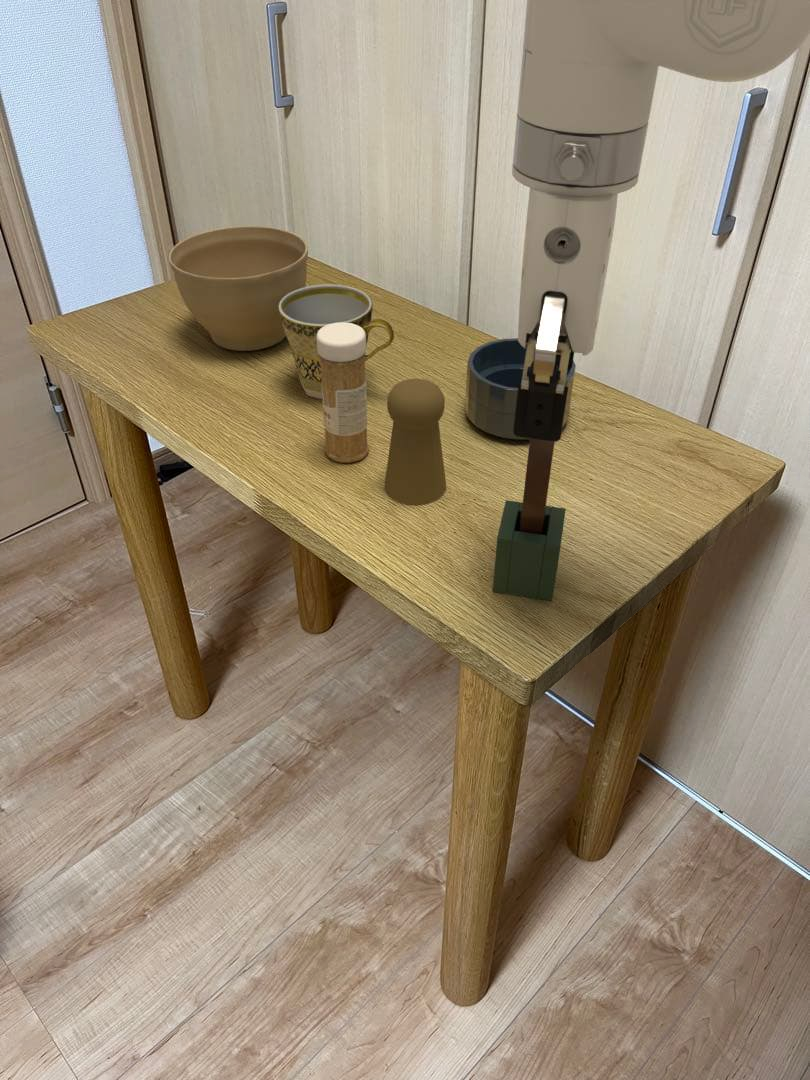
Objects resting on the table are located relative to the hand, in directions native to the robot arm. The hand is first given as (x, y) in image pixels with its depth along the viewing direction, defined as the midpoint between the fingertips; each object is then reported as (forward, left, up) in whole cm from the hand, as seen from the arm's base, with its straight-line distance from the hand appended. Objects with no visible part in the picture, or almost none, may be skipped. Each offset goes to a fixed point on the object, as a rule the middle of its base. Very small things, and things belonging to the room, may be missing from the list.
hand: (544, 399), depth 61 cm
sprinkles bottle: (+20, -14, -18) cm, 30 cm away
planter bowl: (+39, -36, -18) cm, 56 cm away
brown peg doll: (+12, -10, -18) cm, 24 cm away
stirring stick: (0, 0, -17) cm, 17 cm away
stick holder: (0, 0, -17) cm, 17 cm away
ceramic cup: (+24, -26, -18) cm, 40 cm away
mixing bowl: (+4, -25, -17) cm, 31 cm away
